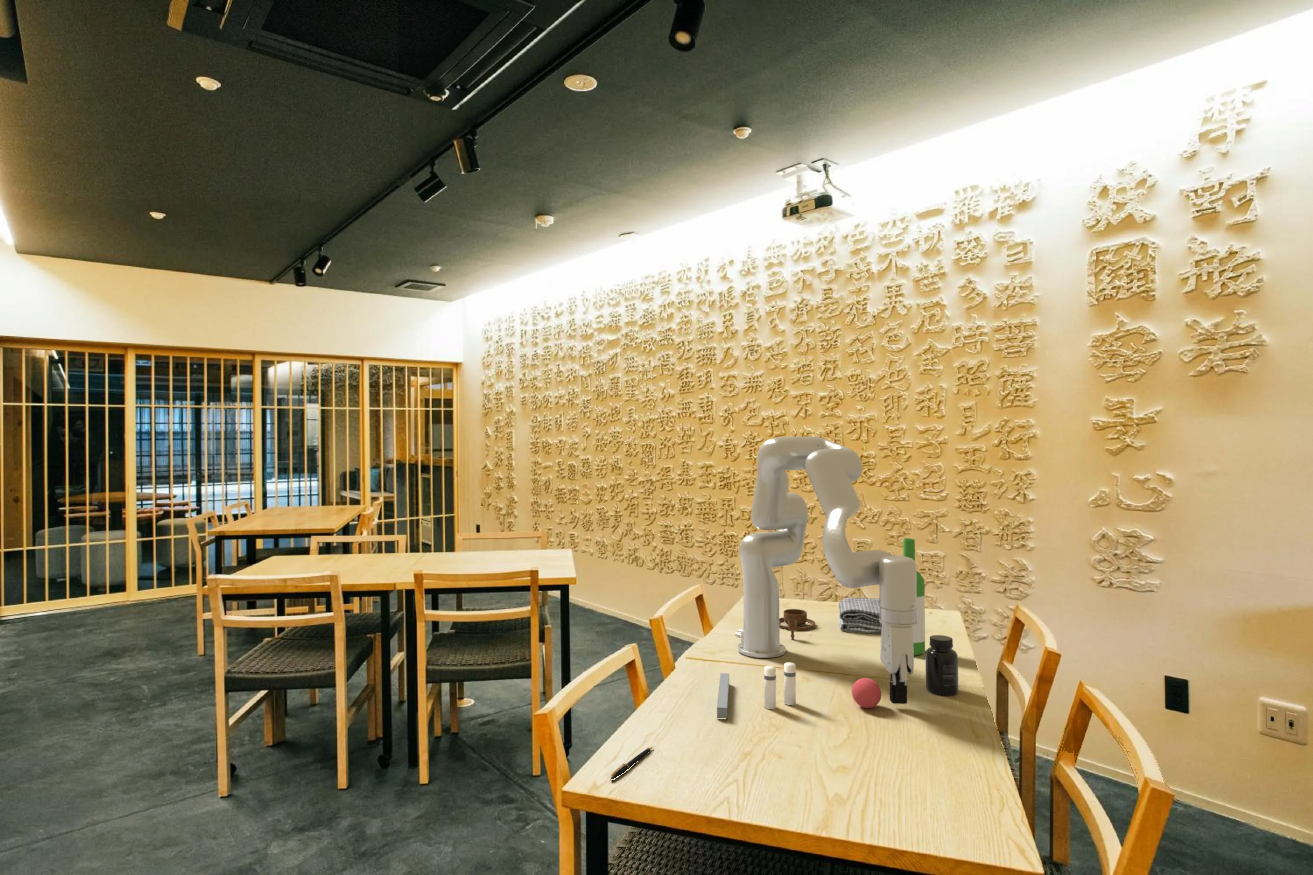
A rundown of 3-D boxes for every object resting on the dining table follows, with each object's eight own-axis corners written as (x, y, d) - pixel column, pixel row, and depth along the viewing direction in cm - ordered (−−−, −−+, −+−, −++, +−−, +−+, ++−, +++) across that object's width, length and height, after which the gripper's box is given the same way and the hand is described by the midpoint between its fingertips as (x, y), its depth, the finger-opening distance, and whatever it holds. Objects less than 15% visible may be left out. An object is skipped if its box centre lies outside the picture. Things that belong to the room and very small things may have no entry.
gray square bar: (720, 683, 160) (720, 673, 160) (729, 684, 159) (729, 673, 159) (717, 719, 140) (716, 707, 140) (726, 719, 139) (726, 707, 139)
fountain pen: (650, 748, 128) (650, 740, 128) (656, 750, 127) (656, 742, 127) (607, 783, 115) (607, 774, 115) (613, 785, 115) (613, 776, 115)
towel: (837, 619, 215) (837, 594, 215) (899, 622, 211) (899, 597, 211) (839, 633, 200) (839, 606, 200) (905, 637, 196) (905, 609, 196)
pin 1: (761, 706, 146) (761, 667, 146) (769, 703, 148) (769, 664, 147) (770, 710, 144) (770, 670, 144) (778, 707, 146) (778, 667, 145)
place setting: (831, 629, 206) (831, 609, 206) (795, 644, 191) (795, 623, 191) (782, 618, 218) (782, 600, 218) (744, 632, 203) (744, 612, 203)
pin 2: (781, 703, 148) (781, 663, 148) (789, 700, 149) (789, 661, 149) (790, 706, 146) (790, 666, 146) (798, 703, 147) (798, 664, 147)
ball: (846, 705, 146) (845, 677, 146) (863, 699, 150) (863, 671, 150) (870, 715, 141) (870, 686, 141) (887, 707, 145) (887, 679, 145)
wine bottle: (912, 658, 177) (911, 542, 176) (887, 650, 183) (887, 538, 183) (931, 653, 181) (931, 539, 181) (906, 645, 187) (906, 535, 187)
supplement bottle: (958, 687, 156) (958, 635, 156) (958, 698, 150) (957, 643, 150) (926, 683, 159) (926, 631, 159) (924, 693, 153) (924, 639, 153)
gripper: (872, 606, 153) (872, 688, 153) (887, 624, 138) (887, 715, 138) (907, 606, 152) (907, 689, 152) (926, 625, 137) (926, 717, 137)
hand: (898, 701), depth 145 cm, fingers closed
